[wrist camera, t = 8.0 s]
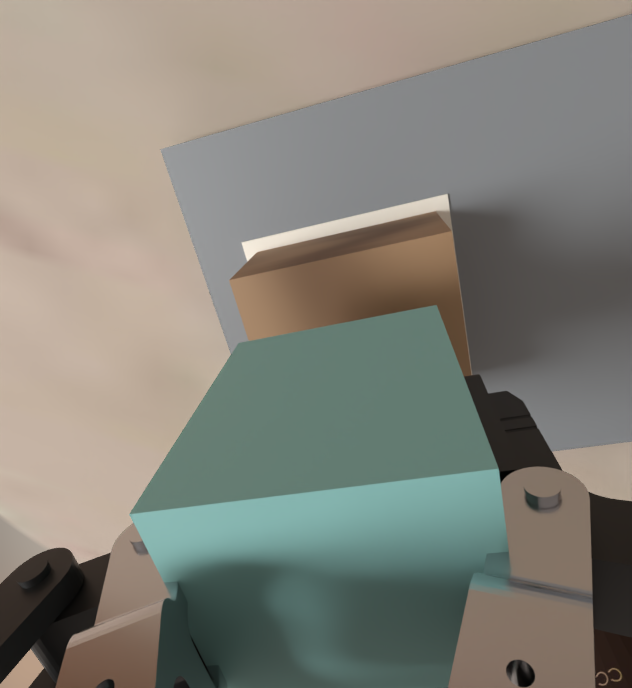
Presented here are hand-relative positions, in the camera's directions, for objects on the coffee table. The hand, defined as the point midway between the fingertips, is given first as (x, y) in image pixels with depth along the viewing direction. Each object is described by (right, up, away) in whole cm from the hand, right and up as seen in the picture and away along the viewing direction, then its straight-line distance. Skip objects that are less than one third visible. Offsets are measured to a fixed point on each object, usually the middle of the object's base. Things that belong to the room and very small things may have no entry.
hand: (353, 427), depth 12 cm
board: (+4, +4, +8) cm, 10 cm away
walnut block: (+1, +3, +7) cm, 8 cm away
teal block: (0, 0, +1) cm, 1 cm away
